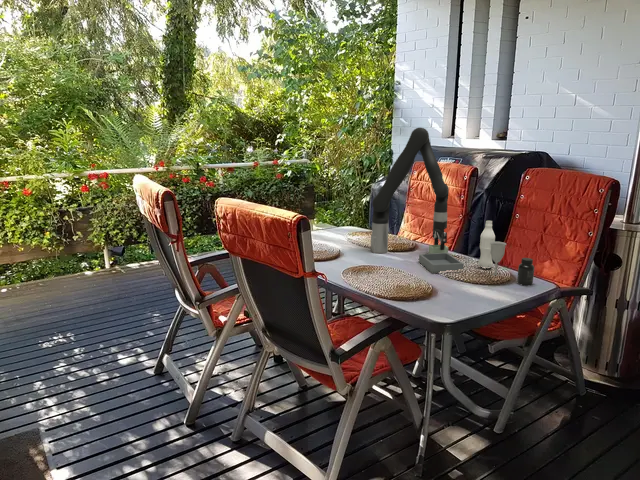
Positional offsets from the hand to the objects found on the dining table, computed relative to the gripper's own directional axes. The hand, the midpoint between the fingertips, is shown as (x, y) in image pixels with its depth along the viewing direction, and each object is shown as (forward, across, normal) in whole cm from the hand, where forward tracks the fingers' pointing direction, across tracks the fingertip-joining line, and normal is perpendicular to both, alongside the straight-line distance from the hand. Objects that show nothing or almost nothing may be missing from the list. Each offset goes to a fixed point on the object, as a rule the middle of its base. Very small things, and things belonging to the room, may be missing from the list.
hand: (439, 247), depth 274 cm
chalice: (+5, +43, +11) cm, 45 cm away
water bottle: (+5, +26, +14) cm, 30 cm away
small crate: (+4, 0, 0) cm, 5 cm away
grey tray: (+4, +20, -8) cm, 22 cm away
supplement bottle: (+5, +51, +21) cm, 56 cm away
